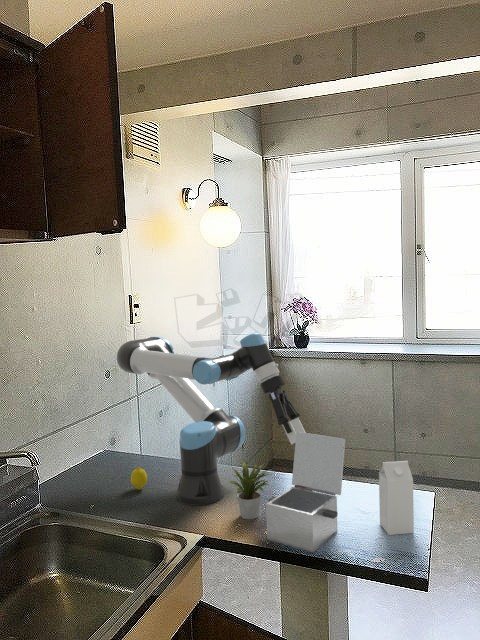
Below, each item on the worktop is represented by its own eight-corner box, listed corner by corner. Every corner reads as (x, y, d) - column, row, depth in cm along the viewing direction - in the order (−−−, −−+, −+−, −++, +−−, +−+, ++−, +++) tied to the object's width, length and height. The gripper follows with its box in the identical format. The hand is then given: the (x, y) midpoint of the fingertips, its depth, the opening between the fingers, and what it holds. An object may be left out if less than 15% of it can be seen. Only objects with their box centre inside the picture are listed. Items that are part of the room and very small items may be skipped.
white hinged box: (258, 536, 153) (256, 501, 152) (284, 518, 164) (283, 484, 163) (323, 556, 141) (322, 517, 140) (347, 534, 153) (346, 498, 152)
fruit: (148, 485, 194) (146, 463, 193) (147, 491, 188) (146, 468, 188) (131, 487, 193) (130, 464, 193) (130, 493, 188) (129, 469, 187)
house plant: (260, 531, 156) (258, 474, 155) (217, 523, 162) (215, 468, 161) (280, 511, 169) (278, 458, 167) (239, 504, 175) (237, 453, 174)
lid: (296, 431, 164) (301, 431, 167) (291, 486, 162) (296, 485, 165) (344, 438, 155) (348, 438, 158) (339, 496, 154) (343, 495, 156)
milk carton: (379, 524, 158) (378, 458, 157) (404, 522, 159) (403, 456, 157) (388, 535, 151) (387, 466, 150) (414, 533, 152) (413, 465, 150)
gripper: (271, 373, 167) (303, 439, 162) (288, 373, 191) (316, 430, 186) (249, 384, 168) (280, 450, 164) (268, 382, 192) (296, 440, 188)
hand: (299, 440), depth 175 cm, fingers open, 13 cm apart
